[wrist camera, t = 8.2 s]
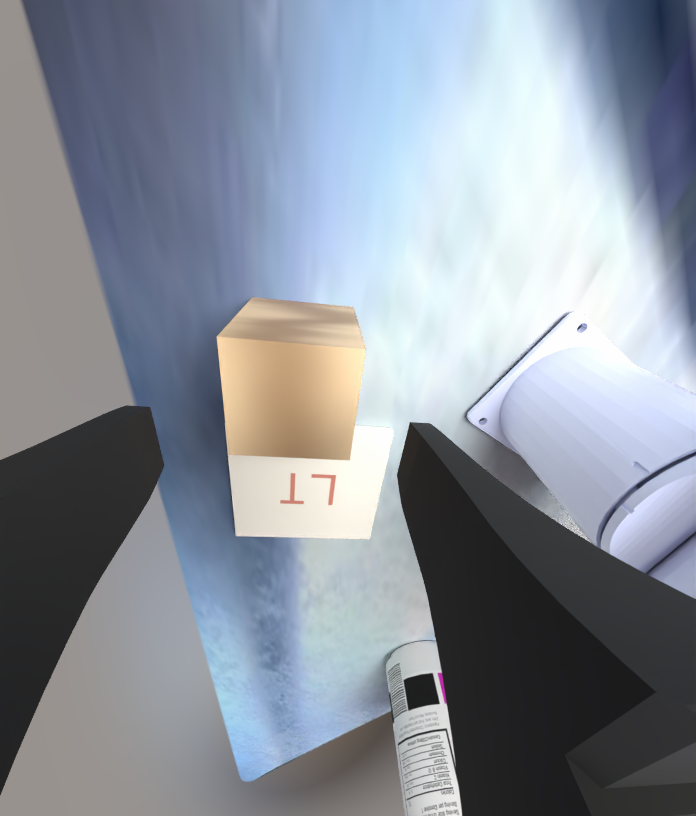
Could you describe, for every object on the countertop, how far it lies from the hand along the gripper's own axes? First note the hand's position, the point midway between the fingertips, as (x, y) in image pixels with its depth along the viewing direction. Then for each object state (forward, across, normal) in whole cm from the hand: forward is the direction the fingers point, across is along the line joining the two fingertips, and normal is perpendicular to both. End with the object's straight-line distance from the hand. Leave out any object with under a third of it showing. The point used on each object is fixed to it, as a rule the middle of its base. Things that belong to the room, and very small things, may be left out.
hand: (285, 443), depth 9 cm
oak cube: (+9, 0, 0) cm, 9 cm away
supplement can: (+9, -15, +36) cm, 40 cm away
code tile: (+9, -1, +10) cm, 14 cm away
